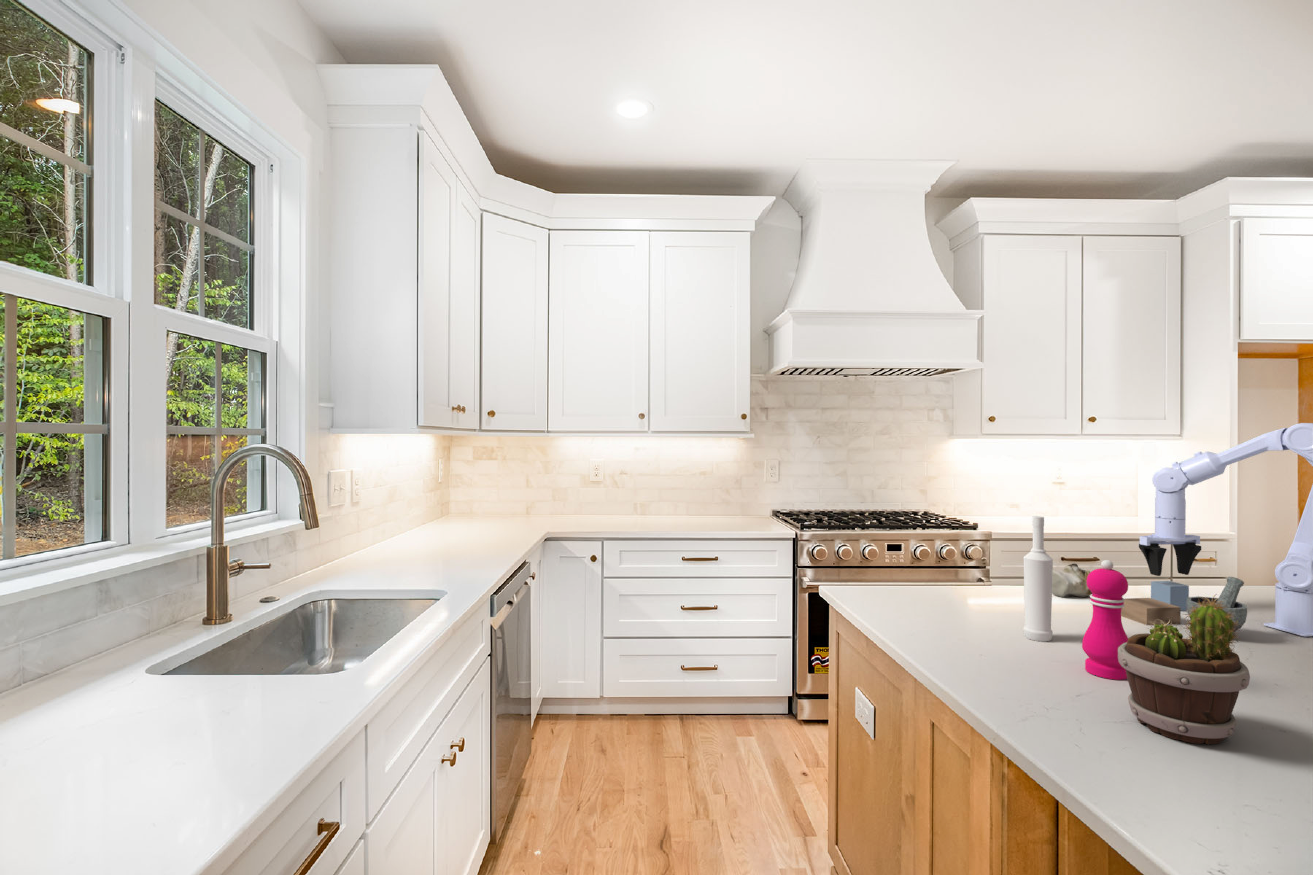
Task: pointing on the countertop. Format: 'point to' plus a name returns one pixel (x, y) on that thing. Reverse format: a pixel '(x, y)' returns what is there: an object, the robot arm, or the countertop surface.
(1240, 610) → the mortar and pestle
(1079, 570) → the grey rock
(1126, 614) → the walnut plinth
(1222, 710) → the flowerpot
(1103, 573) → the pepper mill
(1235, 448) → the robot arm
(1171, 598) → the slate block
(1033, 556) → the bottle
